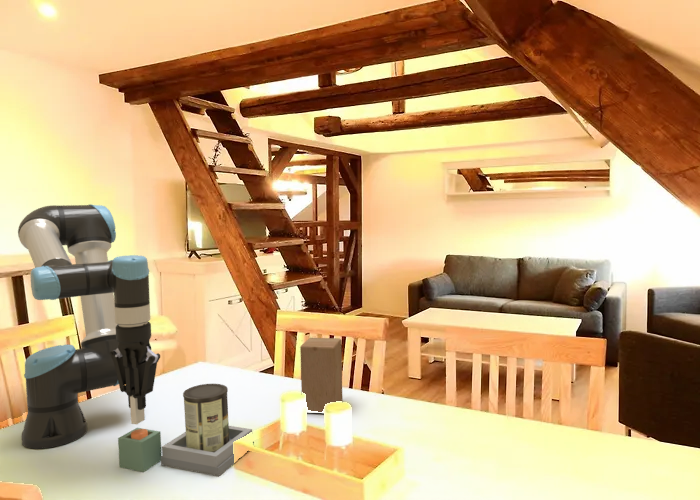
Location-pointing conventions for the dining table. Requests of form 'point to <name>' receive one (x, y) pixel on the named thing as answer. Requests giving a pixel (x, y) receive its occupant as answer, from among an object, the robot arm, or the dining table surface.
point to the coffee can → (206, 417)
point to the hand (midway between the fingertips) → (138, 421)
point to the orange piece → (139, 434)
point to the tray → (201, 454)
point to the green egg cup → (140, 451)
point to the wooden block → (321, 372)
